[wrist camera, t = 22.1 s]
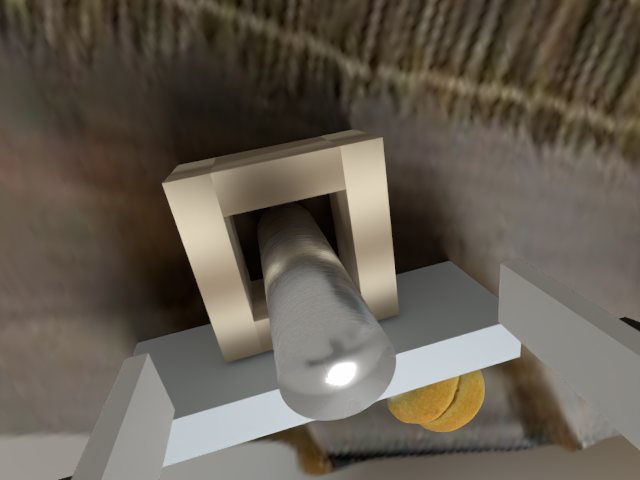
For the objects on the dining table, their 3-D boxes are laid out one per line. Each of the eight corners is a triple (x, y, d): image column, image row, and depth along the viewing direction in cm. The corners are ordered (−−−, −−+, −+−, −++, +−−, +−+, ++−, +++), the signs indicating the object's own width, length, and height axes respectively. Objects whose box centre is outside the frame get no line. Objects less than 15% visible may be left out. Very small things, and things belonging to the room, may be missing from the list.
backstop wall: (137, 342, 25) (96, 442, 18) (449, 260, 28) (522, 317, 21) (152, 374, 26) (119, 480, 19) (450, 292, 29) (519, 356, 22)
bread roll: (437, 421, 35) (460, 458, 32) (367, 395, 32) (384, 433, 29) (490, 358, 34) (520, 390, 30) (422, 324, 30) (447, 355, 27)
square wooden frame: (178, 165, 21) (161, 183, 17) (353, 129, 23) (382, 137, 18) (227, 315, 26) (225, 362, 21) (372, 278, 27) (399, 314, 23)
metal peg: (250, 209, 23) (266, 342, 11) (309, 196, 24) (390, 308, 11) (264, 263, 25) (291, 434, 12) (319, 249, 26) (400, 400, 13)
